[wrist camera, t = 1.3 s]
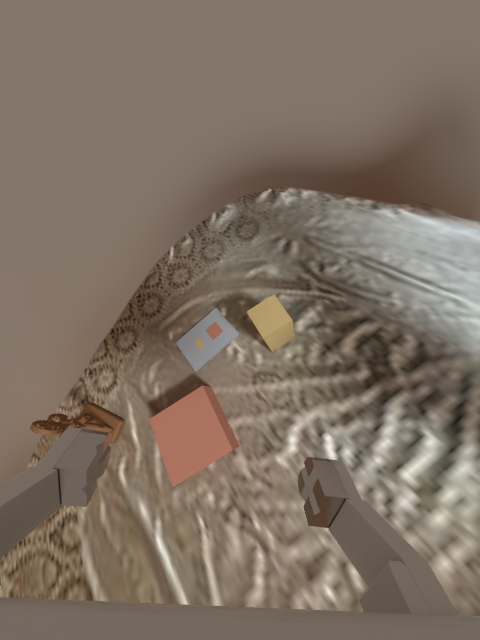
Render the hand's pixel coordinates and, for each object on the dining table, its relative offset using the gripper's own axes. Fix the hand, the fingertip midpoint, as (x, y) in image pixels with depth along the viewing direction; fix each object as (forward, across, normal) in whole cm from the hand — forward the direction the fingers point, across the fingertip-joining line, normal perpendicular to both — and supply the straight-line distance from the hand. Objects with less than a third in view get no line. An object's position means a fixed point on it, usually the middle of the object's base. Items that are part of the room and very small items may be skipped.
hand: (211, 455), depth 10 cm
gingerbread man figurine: (+27, +16, +29) cm, 43 cm away
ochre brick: (+29, -10, +6) cm, 31 cm away
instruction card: (+32, +1, +11) cm, 34 cm away
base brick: (+22, -1, +23) cm, 32 cm away
